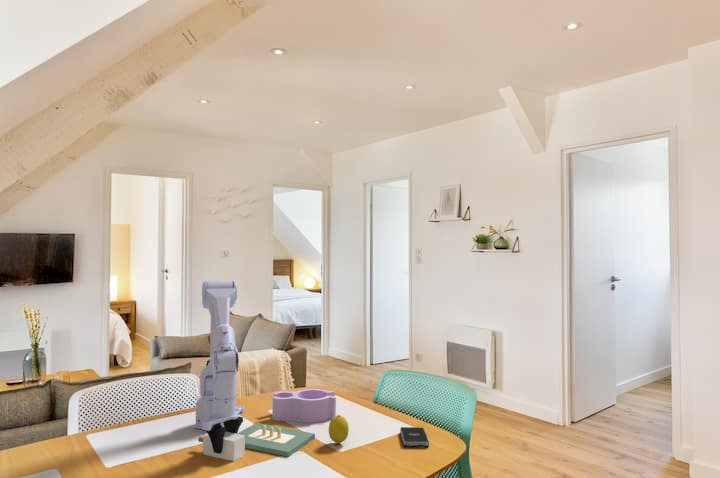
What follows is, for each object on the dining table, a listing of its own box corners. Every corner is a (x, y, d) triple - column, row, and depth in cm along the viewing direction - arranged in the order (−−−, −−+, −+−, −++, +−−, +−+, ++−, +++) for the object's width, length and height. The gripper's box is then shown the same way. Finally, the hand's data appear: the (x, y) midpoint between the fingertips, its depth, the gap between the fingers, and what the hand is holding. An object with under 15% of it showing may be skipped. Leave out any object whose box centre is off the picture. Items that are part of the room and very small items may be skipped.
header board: (226, 443, 135) (226, 430, 135) (256, 426, 148) (256, 414, 148) (288, 456, 127) (288, 442, 127) (314, 437, 140) (315, 424, 140)
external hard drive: (403, 449, 134) (403, 441, 134) (399, 433, 145) (400, 427, 145) (429, 449, 134) (429, 442, 134) (423, 434, 145) (423, 427, 145)
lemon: (346, 449, 133) (346, 419, 133) (326, 447, 134) (326, 417, 134) (350, 441, 138) (350, 412, 138) (331, 439, 139) (331, 410, 139)
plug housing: (193, 452, 129) (194, 433, 130) (205, 446, 133) (205, 427, 134) (234, 461, 124) (234, 441, 124) (244, 454, 128) (245, 435, 128)
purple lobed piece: (271, 423, 151) (271, 401, 151) (274, 410, 164) (274, 389, 164) (336, 422, 153) (336, 399, 154) (334, 409, 166) (334, 388, 166)
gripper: (218, 406, 120) (217, 462, 120) (254, 391, 134) (253, 441, 133) (196, 402, 123) (195, 457, 123) (233, 388, 136) (232, 437, 136)
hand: (223, 449), depth 128 cm, fingers closed on plug housing, 4 cm apart
